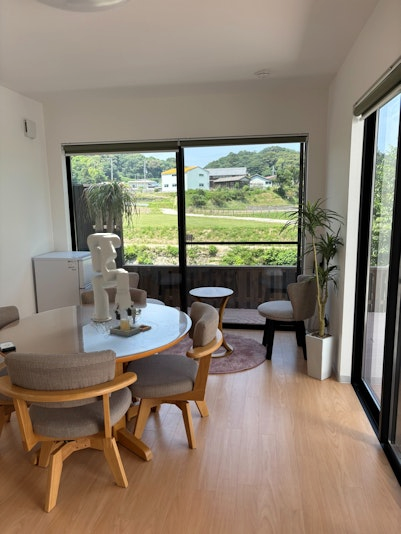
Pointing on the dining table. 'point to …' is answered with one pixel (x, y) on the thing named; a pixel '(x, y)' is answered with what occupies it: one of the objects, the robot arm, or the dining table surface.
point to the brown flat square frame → (144, 327)
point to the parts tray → (118, 331)
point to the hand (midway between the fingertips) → (123, 317)
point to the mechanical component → (134, 313)
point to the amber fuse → (125, 324)
